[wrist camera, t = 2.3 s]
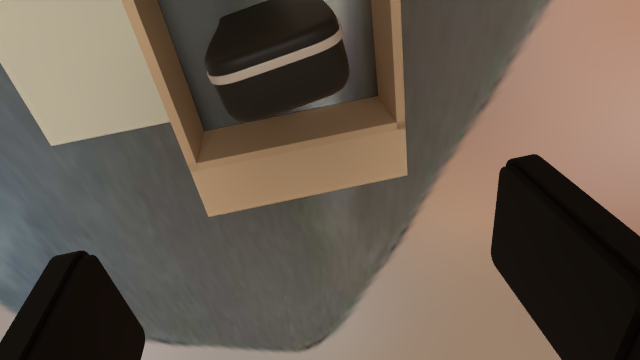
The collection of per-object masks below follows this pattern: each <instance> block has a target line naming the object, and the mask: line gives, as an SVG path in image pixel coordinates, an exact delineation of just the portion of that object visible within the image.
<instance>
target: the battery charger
mask: <svg viewBox="0 0 640 360" xmlns="http://www.w3.org/2000/svg"><path fill="white" fill-rule="evenodd" d="M342 37H343V33H342V29H341V25H340V23H339V22H338V20H337V18H336V16H335V14H334V12H333V11H332V10H331V8H330V7H329V6H328V5H327V4H326V3H325V2H324V1H323V0H268V1H265V2H262V3H259V4H257V5H254V6H251V7H248V8H246V9H243V10H240V11H237V12H235V13H232V14H229V15H226V16H224V17H222V18H221V19H220V21H219V25H218V28H217V30H216V32H215V34H214V36H213V38H212V40H211V42H210V44H209V47H208V49H207V53H206V57H205V66H206V69H207V75H208V77H209V79H210V81H211V83H212V84H214V86H215V88H216V90H217V92H218V94H219V96H220V98H221V100H222V102H223V104H224V106H225V108H226V110H227V111H228V113H229V114H230V115H231V116H232V117H234V118H235V119H236V120H238V121H241V122H253V121H258V120H261V119H264V118H267V117H270V116H273V115H276V114H279V113H282V112H285V111H288V110H291V109H294V108H297V107H300V106H303V105H305V104H308V103H311V102H314V101H317V100H319V99H322V98H325V97H328V96H330V95H332V94H334V93H336V92H338V91H340V90H341V89H342V88H343V87H344V85H345V84H346V82H347V80H348V77H349V65H348V59H347V55H346V51H345V47H344V44H343V40H342Z"/></svg>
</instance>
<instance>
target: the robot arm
mask: <svg viewBox="0 0 640 360" xmlns="http://www.w3.org/2000/svg"><path fill="white" fill-rule="evenodd" d="M491 257H492V260H493V263H494V265H495V266H496V268H497V269H498V270H499V272H500V273H501V275H502V276H503V278H504V279H505V281H506V282H507V284H508V285H509V286H510V288H511V289H512V291H513V292H514V293H515V295H516V296H517V297H518V299H519V300H520V302H521V303H522V305H523V306H524V307H525V309H526V310H527V312H528V313H529V314H530V315H531V317H532V319H533V320H534V321H535V323H536V324H537V326H538V327H539V328H540V330H541V331H542V333H543V334H544V335H545V337H546V338H547V340H548V341H549V343H550V344H551V345H552V347H553V348H554V349H555V351H556V352H557V354H558V355H559V356H560V358H561V359H562V360H640V236H639V235H637V234H636V233H635V232H634V231H632V230H631V229H630V228H629V227H627V226H626V225H625V224H624V223H622V222H621V221H620V220H619V219H617V218H616V217H615V216H614V215H612V214H611V213H610V212H609V211H607V210H606V209H605V208H604V207H602V206H601V205H600V204H599V203H597V202H596V201H595V200H594V199H593V198H591V197H590V196H589V195H588V194H586V193H585V192H584V191H582V190H581V189H580V188H579V187H578V186H576V185H575V184H574V183H573V182H571V181H570V180H569V179H568V178H566V177H565V176H564V175H563V174H561V173H560V172H559V171H558V170H556V169H555V168H554V167H553V166H551V165H550V164H549V163H548V162H546V161H545V160H544V159H543V158H541V157H540V156H538V155H535V154H532V155H528V156H523V157H518V158H513V159H510V160H508V162H507V164H506V167H503V168H501V170H500V173H499V183H498V192H497V201H496V210H495V220H494V228H493V237H492V246H491ZM144 344H145V333H144V330H143V328H142V326H141V325H140V323H139V321H138V320H137V318H136V317H135V315H134V314H133V312H132V311H131V309H130V307H129V306H128V304H127V303H126V301H125V300H124V298H123V297H122V295H121V294H120V292H119V290H118V289H117V287H116V286H115V284H114V283H113V281H112V280H111V278H110V276H109V275H108V273H107V272H106V270H105V269H104V267H103V266H102V264H101V262H100V261H99V259H98V258H97V257H96V256H94V255H89V254H88V253H87V252H85V251H76V252H71V253H67V254H62V255H57V256H55V257H53V258H52V259H51V260H50V261H49V263H48V265H47V266H46V268H45V269H44V271H43V273H42V274H41V276H40V278H39V279H38V281H37V283H36V284H35V286H34V288H33V289H32V291H31V293H30V294H29V296H28V297H27V299H26V301H25V302H24V304H23V306H22V307H21V309H20V311H19V312H18V314H17V316H16V317H15V319H14V321H13V322H12V324H11V326H10V327H9V329H8V330H7V332H6V334H5V336H4V337H3V339H2V341H1V342H0V360H141V356H142V352H143V349H144Z"/></svg>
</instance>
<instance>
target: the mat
mask: <svg viewBox="0 0 640 360" xmlns="http://www.w3.org/2000/svg"><path fill="white" fill-rule="evenodd" d="M0 63H1V64H2V66H3V68H4V69H5V71H6V73H7V74H8V76H9V78H10V79H11V81H12V82H13V84H14V86H15V87H16V89H17V91H18V92H19V94H20V96H21V97H22V99H23V100H24V102H25V104H26V105H27V107H28V109H29V110H30V112H31V114H32V115H33V117H34V118H35V120H36V122H37V123H38V125H39V127H40V128H41V130H42V132H43V133H44V135H45V136H46V138H47V140H48V141H49V143H50V145H51V146H54V145H59V144H64V143H69V142H74V141H78V140H83V139H88V138H93V137H98V136H103V135H108V134H113V133H118V132H123V131H128V130H133V129H138V128H143V127H148V126H153V125H158V124H163V123H168V122H170V120H169V117H168V115H167V112H166V110H165V107H164V105H163V102H162V100H161V97H160V95H159V93H158V90H157V88H156V85H155V83H154V80H153V78H152V75H151V73H150V70H149V68H148V65H147V63H146V60H145V58H144V55H143V53H142V50H141V48H140V45H139V43H138V40H137V38H136V35H135V33H134V31H133V28H132V26H131V23H130V21H129V18H128V16H127V13H126V11H125V8H124V6H123V3H122V1H121V0H0Z"/></svg>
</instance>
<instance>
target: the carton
mask: <svg viewBox="0 0 640 360" xmlns="http://www.w3.org/2000/svg"><path fill="white" fill-rule="evenodd" d="M121 1H122V3H123V6H124V8H125V11H126V13H127V16H128V18H129V21H130V23H131V26H132V28H133V31H134V33H135V35H136V38H137V40H138V43H139V45H140V48H141V50H142V53H143V55H144V58H145V60H146V63H147V65H148V68H149V70H150V73H151V75H152V78H153V80H154V83H155V85H156V88H157V90H158V93H159V95H160V97H161V100H162V102H163V105H164V107H165V110H166V112H167V115H168V117H169V120H170V122H171V125H172V127H173V130H174V132H175V135H176V137H177V140H178V142H179V145H180V147H181V150H182V152H183V155H184V157H185V159H186V162H187V164H188V167H189V169H190V172H191V174H192V177H193V179H194V182H195V184H196V187H197V189H198V192H199V194H200V197H201V199H202V202H203V204H204V207H205V209H206V212H207V214H208V216H209V217H211V216H216V215H221V214H225V213H230V212H235V211H240V210H244V209H249V208H254V207H259V206H264V205H268V204H273V203H278V202H283V201H287V200H292V199H297V198H302V197H306V196H311V195H316V194H321V193H325V192H330V191H335V190H340V189H345V188H349V187H354V186H359V185H364V184H368V183H373V182H378V181H383V180H387V179H392V178H397V177H402V176H406V175H407V153H406V128H405V102H404V77H403V51H402V26H401V1H400V0H371V12H372V25H373V38H374V50H375V63H376V76H377V89H378V96H375V97H370V98H365V99H360V100H355V101H350V102H345V103H340V104H336V105H331V106H326V107H321V108H316V109H311V110H306V111H301V112H296V113H291V114H286V115H281V116H277V117H272V118H267V119H262V120H258V121H253V122H247V123H242V124H237V125H232V126H227V127H222V128H218V129H213V130H208V131H204V129H203V127H202V124H201V121H200V118H199V115H198V113H197V110H196V107H195V104H194V101H193V99H192V96H191V93H190V90H189V87H188V85H187V82H186V79H185V76H184V73H183V70H182V68H181V65H180V62H179V59H178V56H177V54H176V51H175V48H174V45H173V42H172V40H171V37H170V34H169V31H168V28H167V26H166V23H165V20H164V17H163V14H162V12H161V9H160V6H159V3H158V0H121Z"/></svg>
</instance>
